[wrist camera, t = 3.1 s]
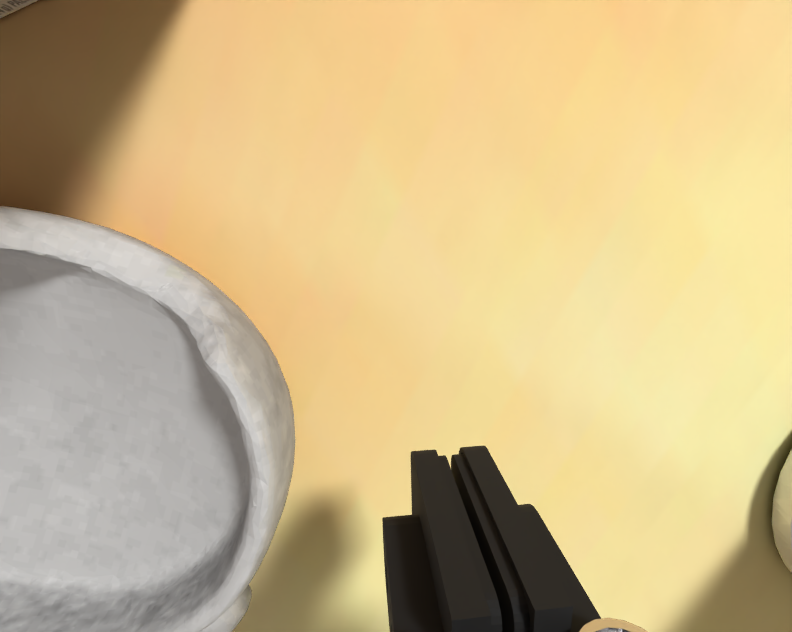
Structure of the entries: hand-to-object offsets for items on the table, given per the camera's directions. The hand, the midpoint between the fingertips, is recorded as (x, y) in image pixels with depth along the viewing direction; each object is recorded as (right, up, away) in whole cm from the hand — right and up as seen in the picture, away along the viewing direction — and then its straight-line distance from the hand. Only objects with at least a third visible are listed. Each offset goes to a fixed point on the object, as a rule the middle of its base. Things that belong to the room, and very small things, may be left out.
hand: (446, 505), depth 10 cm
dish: (-11, +1, +6) cm, 13 cm away
